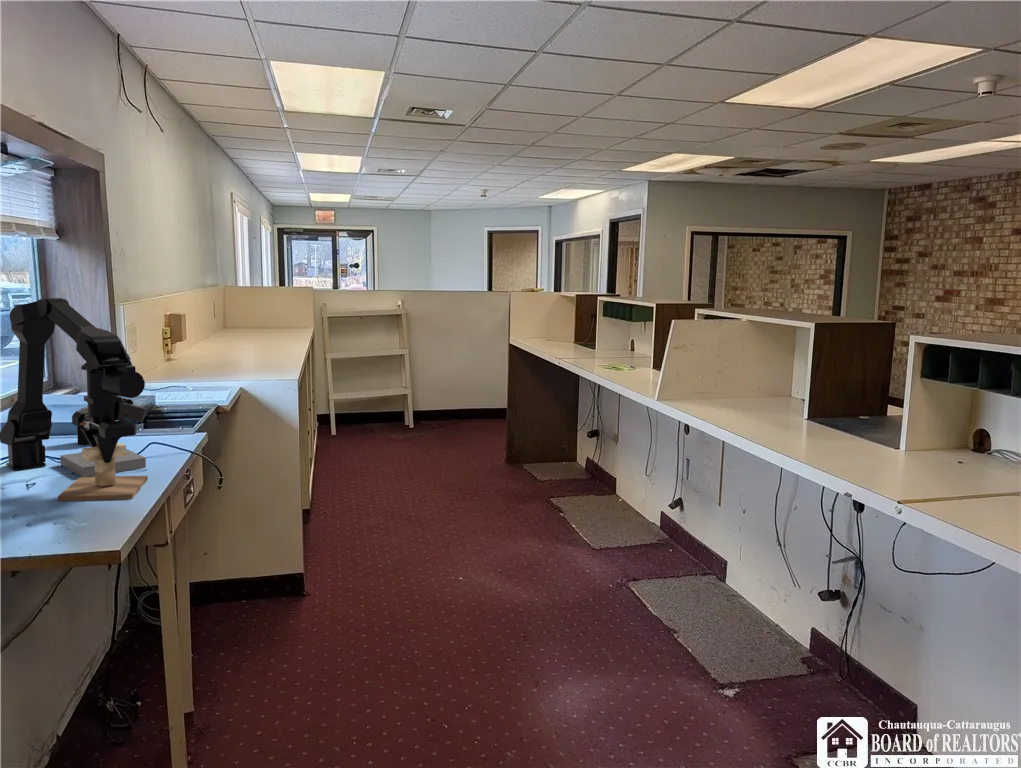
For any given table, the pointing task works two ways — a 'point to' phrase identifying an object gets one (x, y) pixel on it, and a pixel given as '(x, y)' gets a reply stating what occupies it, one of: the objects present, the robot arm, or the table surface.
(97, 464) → the t key
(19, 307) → the robot arm
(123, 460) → the keyhole plate
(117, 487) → the walnut pad
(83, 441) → the battery
